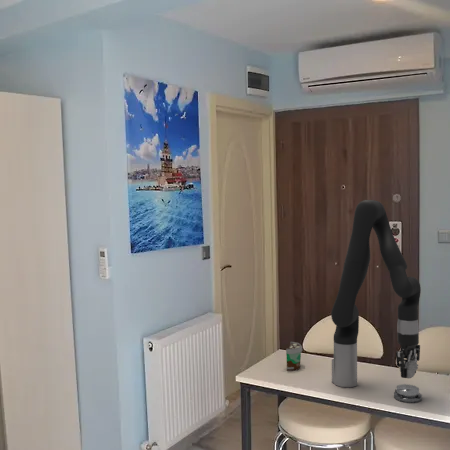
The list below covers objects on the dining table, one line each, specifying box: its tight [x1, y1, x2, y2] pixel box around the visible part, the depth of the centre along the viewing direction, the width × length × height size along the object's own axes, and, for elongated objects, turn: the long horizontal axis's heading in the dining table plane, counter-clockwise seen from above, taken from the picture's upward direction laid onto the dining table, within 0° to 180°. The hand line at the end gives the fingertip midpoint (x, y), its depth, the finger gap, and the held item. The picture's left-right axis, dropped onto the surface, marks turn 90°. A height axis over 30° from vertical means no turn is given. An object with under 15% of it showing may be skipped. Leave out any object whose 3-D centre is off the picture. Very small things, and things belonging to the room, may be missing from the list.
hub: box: [393, 383, 423, 404], centre depth 202 cm, size 10×10×4 cm
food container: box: [285, 341, 303, 372], centre depth 239 cm, size 12×6×10 cm, turn 164°
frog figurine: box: [399, 360, 419, 379], centre depth 202 cm, size 6×7×7 cm
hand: (408, 375), depth 202 cm, fingers closed on frog figurine, 6 cm apart
